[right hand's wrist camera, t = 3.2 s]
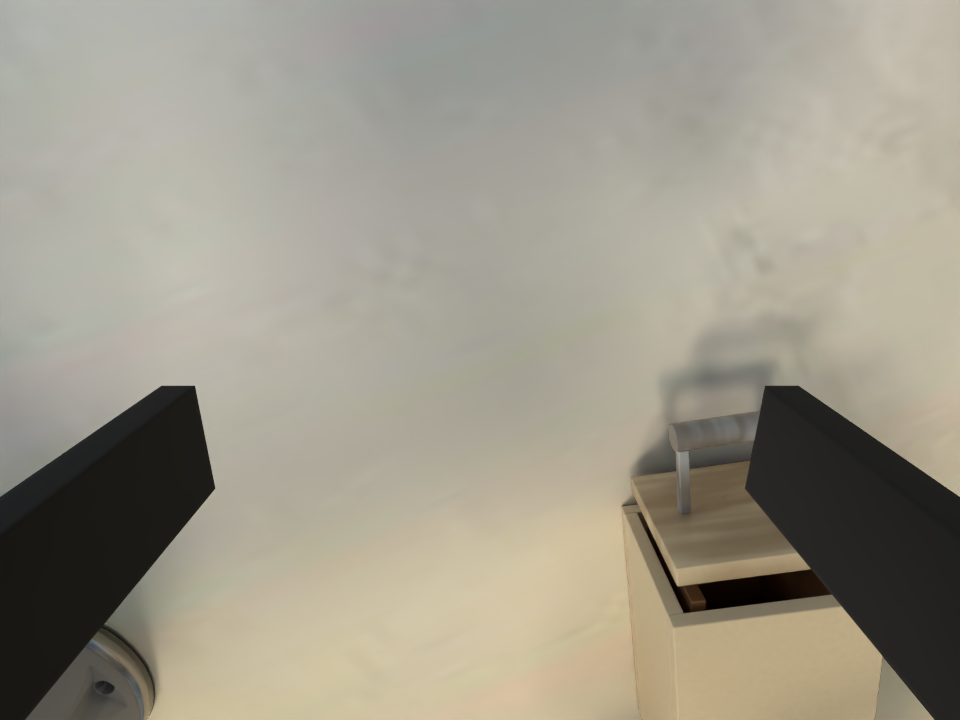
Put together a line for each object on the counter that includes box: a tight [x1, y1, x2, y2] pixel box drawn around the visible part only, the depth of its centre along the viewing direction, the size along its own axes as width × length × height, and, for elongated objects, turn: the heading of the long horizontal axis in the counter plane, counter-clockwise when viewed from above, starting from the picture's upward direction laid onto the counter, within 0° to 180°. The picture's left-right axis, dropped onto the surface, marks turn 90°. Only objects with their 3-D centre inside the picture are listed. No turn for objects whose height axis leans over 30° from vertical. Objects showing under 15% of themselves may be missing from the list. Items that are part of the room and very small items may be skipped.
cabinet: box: [621, 504, 883, 720], centre depth 36 cm, size 20×11×11 cm, turn 9°
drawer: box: [631, 411, 832, 613], centre depth 33 cm, size 25×10×9 cm, turn 9°
